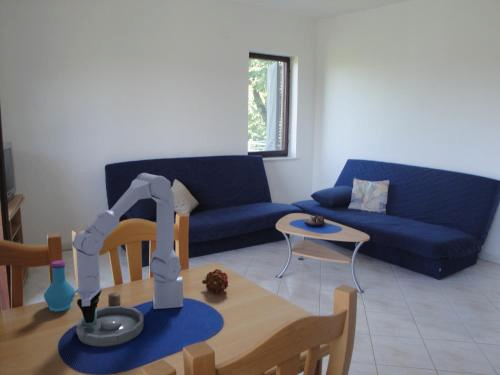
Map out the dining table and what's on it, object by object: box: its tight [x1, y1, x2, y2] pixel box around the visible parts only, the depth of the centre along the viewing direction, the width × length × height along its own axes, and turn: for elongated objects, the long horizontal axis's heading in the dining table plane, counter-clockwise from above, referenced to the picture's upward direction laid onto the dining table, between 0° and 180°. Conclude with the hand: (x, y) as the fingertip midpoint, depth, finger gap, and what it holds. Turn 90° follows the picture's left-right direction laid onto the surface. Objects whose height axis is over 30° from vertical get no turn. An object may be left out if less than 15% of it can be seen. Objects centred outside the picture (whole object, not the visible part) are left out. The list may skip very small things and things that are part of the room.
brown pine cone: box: [201, 268, 229, 294], centre depth 146 cm, size 8×8×12 cm
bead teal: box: [82, 308, 98, 327], centre depth 115 cm, size 4×4×5 cm
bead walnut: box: [107, 292, 121, 307], centre depth 129 cm, size 4×4×5 cm
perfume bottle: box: [43, 259, 76, 312], centre depth 129 cm, size 9×9×15 cm
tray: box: [75, 305, 144, 348], centre depth 117 cm, size 18×18×3 cm
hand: (90, 318), depth 116 cm, fingers closed on bead teal, 4 cm apart
